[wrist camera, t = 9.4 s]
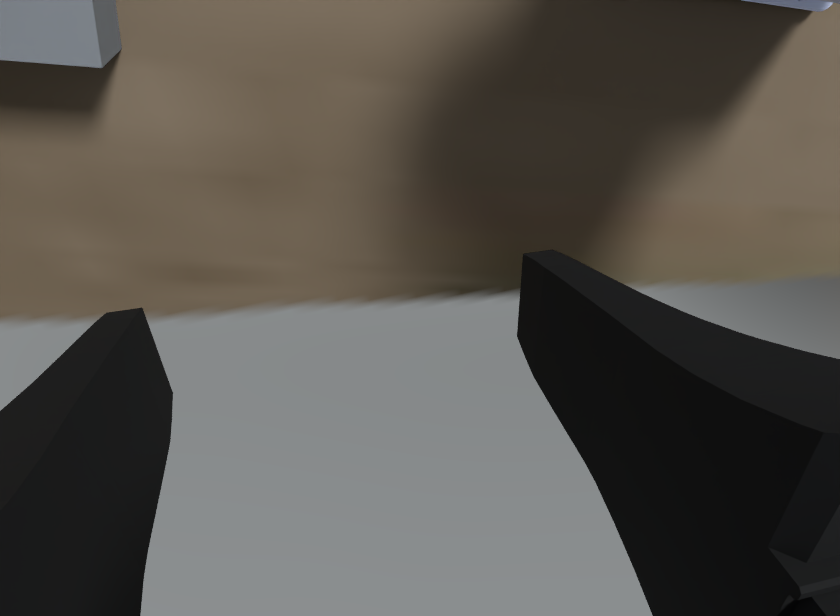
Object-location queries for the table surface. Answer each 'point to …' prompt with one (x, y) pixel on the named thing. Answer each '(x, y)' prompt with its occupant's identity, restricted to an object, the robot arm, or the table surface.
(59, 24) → the slate block
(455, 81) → the table surface
